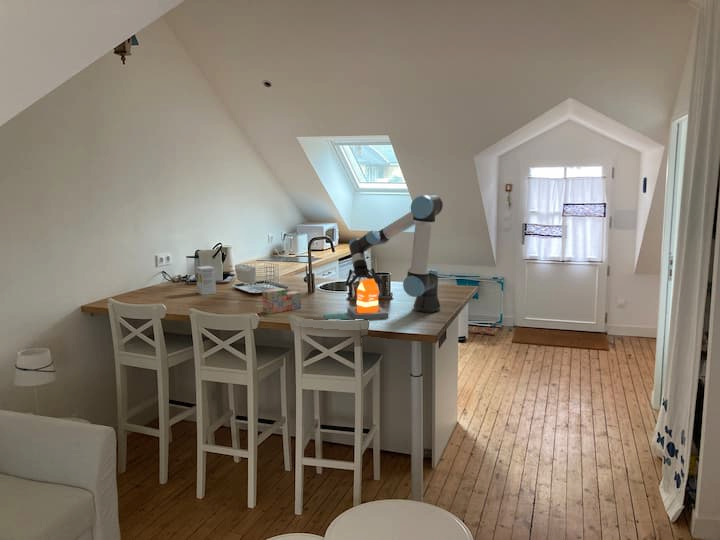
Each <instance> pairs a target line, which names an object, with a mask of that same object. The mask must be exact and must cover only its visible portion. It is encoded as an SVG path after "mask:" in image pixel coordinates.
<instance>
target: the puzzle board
mask: <svg viewBox="0 0 720 540" xmlns="http://www.w3.org/2000/svg"><path fill="white" fill-rule="evenodd" d="M346 312H347V314H348V315H349V317H351V318H352V319H353V320H354V319H369V321H370V320H372V319H374V320H381V319H380V318H388V319H389V312H388V311H387V310H385V309H384V308H382V307H381V306H380V305H378V312H371V313H358V312H357V306H351V307H347V311H346Z"/></svg>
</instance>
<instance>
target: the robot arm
mask: <svg viewBox="0 0 720 540" xmlns="http://www.w3.org/2000/svg"><path fill="white" fill-rule="evenodd" d="M443 206H444V204H443V199H441V197H440V196H439V195H437V194H422V195H419V196H417V197H415V198H414V199H413V200H412V201H411V204H410V211H409V212H408V213H406V214H405V215H404V216H402V217H399V218H398V219H396V220H395V221H393V222H391V223H390V224H388V225H387V226H384V228H382V229H380V230H374V229H372V230H370V231H368V232H367V233H366V234H364V235H363V236H362V237H361V238H359V237H355V238H352V239H350V240H349V242H348V246H349V251H350V256H351V260H352V266H353V270H352V269H349V271H348V276H347V278H346V281H345V286H346V287H348V288H349V291H350V292H351V294H352V298H354V297H355V296H356V293H355V292H356V291H355V288H354V283H355V281H357V279H361V278H362V279H373V278H374V280H375V283H376V285H377V288H378V297H379V296H380V290H381V285H382V283H383V280H382V279H381V277H380V276H378V274H377V273H376V271H375V270H374V268H371V269H369V268H368V264H367V259H366V256H365V252H366V251H368V250H369V249H370V248H373V247H375V246H381V245H385V244H387V243H388V242H389V241H390V240H393V238H395V237H397V236H399V235H400V234H402V233H403V232H405V231H407V230H409V229H411V227H414V234H413V235H414V236H413V242H412V243H413V244H412V251H411V261H410V268H408V269H407V273H406V274H407V275H406V278H404V280H403V281H402V287H403V290H404V292H405V293H406V294H407V295H408V296H409V297H413V298H415V299H414V300H415V301H414V303H413V311H415V310H416V312H419V311H422V312H421V313H436V312H435V311H437V312H440V311H441V310H442V309H441V308H442V307H441V303H440V300H439V297H438V295H439V292H438V291H439V271H438V270H437V269H433V268H432V269H431V268H428V262H429V261H428V260H429V251H430V244H431V243H430V242H431V234H432V226H433V224H435V222H436V216H437V215H439V214H441V212H442V210H443ZM353 274H354V277H352V275H353ZM440 309H441V310H440ZM439 310H440V311H439Z"/></svg>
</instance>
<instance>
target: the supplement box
mask: <svg viewBox="0 0 720 540" xmlns="http://www.w3.org/2000/svg"><path fill="white" fill-rule="evenodd" d="M195 270H196V271H195V273H196V293H198V294H199V295H202V296H204V295H205V296H206V295H213V294H214V295H215V294H217V288H216V287H217V285H216V284H217V281H216V267H213V266H211V265H204V266H202V265H201V266H196V267H195Z"/></svg>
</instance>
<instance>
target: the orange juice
mask: <svg viewBox="0 0 720 540" xmlns="http://www.w3.org/2000/svg"><path fill="white" fill-rule="evenodd" d="M378 306H379V296H378V288H377V285H376V283H375V280H374V278H373V279H367V278H365V279H361V280H360V282H359V284H358V286H357V288H356V307H357V312H358V313H371V312H378Z"/></svg>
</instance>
